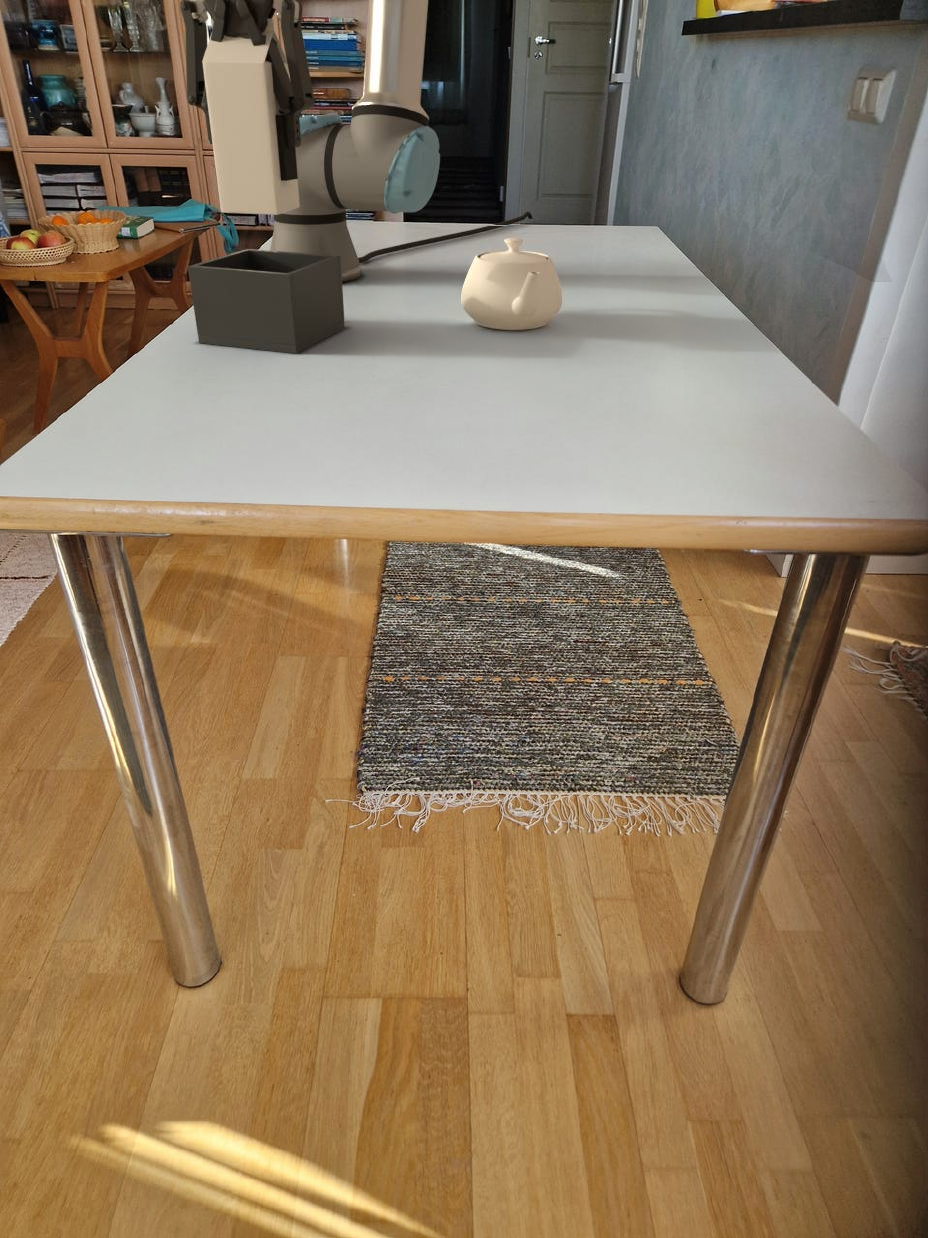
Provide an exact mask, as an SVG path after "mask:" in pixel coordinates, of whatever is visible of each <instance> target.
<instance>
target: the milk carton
mask: <svg viewBox="0 0 928 1238" xmlns="http://www.w3.org/2000/svg"><path fill="white" fill-rule="evenodd" d="M210 18H211V17H210ZM210 21H211V29H212V28H213V23H214V21H213V19H212V18H211V19H210ZM267 22H268V25H267V27H266V29H265V31H264V32H263V33H262V35H266V44H263V45H258V46H254V45H253V44H252V41H251V39H245V38H242V37H236V38H234V37H227V36H225V35H224V38H223V40H222V41H221V42H216V41H212V40H211V34H212V32H211V34H210V37H209V40H208V41H207V49H206V52H205V55H204V58H203V61H202V62H203V70H204V78H205V86H206V94H207V102H208V110H209V118H210V126H211V134H212V142H213V144H212V150H213V158H214V167H215V175H216V182H217V191H218V197H219V206H220V212H221V213H225V214H245V215H266V216H267V215H268V216H269V215H270V216H271V215H272V216H274V215H278V214H282V213H285V212H288V211H291V210H294V209H297V208H299V192H298V180H297V179H294V180H288V181H281V175H280V164H279V152H278V141H277V130H276V118H275V115H281V114H280V113H279V112H278V111H279V110H280V106H279V104H278V101H277V99H276V96H275V93H274V89H273V78H272V67H271V63H270V62H268V61H265V59H266V55H267V52H268V49H269V45H270V42H271V39H272V38H273V39H274V40H275V41H276V42H277V47H278V50H279V52H280V55H281V58H282V60H283V63H284V65H285V68H286V71H287V73H288V76H289V77H290V74H289V69H288V64H287V59H286V54H285V51H284V50H283V47H282V45H281V43H280V41H279V39H278V36H277V34H276V31H275V23H274V18H272V19H267Z"/></svg>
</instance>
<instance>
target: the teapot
mask: <svg viewBox="0 0 928 1238" xmlns="http://www.w3.org/2000/svg"><path fill="white" fill-rule="evenodd" d="M504 243H505V244H506V246H507V248H508V250H507V249H506V250H504V249H503V250H490V251H483V252H480V253H478V254H476V255H475V256H474V259H473V260H472V263H471V265H470V266H469V269H468V272H467V274H466V276H465V279H464V282H463V285H462V288H461V289H462V290H461V294H460V296H461V297H460V302H461V306H462V308H463V310H464V312H465V313H466V314H467V315H468V316H469V317H470V319H472V320H473V322H474V323H475V324H477V325H480V326H481V327H485V328H489V329H494V330H495V329H496V330H502V331H503V330H506V331H522V330H523V331H524V330H532V329H537V328H541V327H544V326H545V325H547V324H548V323H549V322H550V321H551V320H552V319H553V318H555V316H556V315H557V314H558V313H559V312H560V311H561V308H562V305H563V292H562V286H561V282H560V279H559V276H558V272H557V270H556V267H555V264H554V262H553V258H552V257H551V256H549V255H548V254H545V253H541V252H536V251H530V250H519V248H520V246H522V244H523V243H524V239H523V238H520V237H507V238H505V239H504Z"/></svg>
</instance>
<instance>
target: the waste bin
mask: <svg viewBox="0 0 928 1238" xmlns="http://www.w3.org/2000/svg"><path fill="white" fill-rule="evenodd" d="M187 271H188V277H189V278H188V279H189V284H190V286H189V287H190V290H191V291H190V292H191V299H192V305H193V312H194V318H195V325H196V333H197V339H198V343H199V344H205V345H214V346H222V347H231V348H241V349H248V350H249V349H250V350H257V351H259V350H261V351H268V352H277V353H286V354H295V355H296V354H299V353H301V352H303V351H304V350H306V349H308V348H310V347H312V346H314V345H315V344H318V343H320V342H321V341H323V340H325V339H327V338H329V337H331V336H332V335H334V334H336V333H338V332H341V331H342V330H344V329H346V325H345V324H346V322H345V308H344V305H345V304H344V291H343V290H344V289H343V288H344V287H343V282H342V272H341V256H335V255H322V254H309V253H295V252H282V251H270V249H269V250H266V249H254V248H246V249H242V250H238V251H235V252H232V253H228V254H224V255H222V256H218V257H214V258H211V259H208V260H205V261H202V262H198V263H194V264H191V265H188V266H187Z"/></svg>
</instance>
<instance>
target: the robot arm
mask: <svg viewBox="0 0 928 1238" xmlns="http://www.w3.org/2000/svg"><path fill="white" fill-rule="evenodd" d="M428 7H429V0H368V10H367V27H366V41H365V44H366V45H365V56H364V57H365V59H364V76H363V93H362V97H361V98H360V99H359V100H358V101H357V102H356V103H354V104H353V105H352V107H351V120H350V124H343V120H342V118H341V115H340V114H338V113H327V114H319V115H310V116H302V117H300V116H301V114H302V112H303V111H306V110H308V109H312V108H313V107H314V106H315V96H314V95H315V94H314V90H313V83H312V79H311V74H310V68H309V63H308V57H307V52H306V46H305V41H304V40H305V39H304V35H303V30H302V29H303V28H302V19H303V10H304V9H303V4H302V2H301V1H300V0H181V1H180V2H179V8H180V13H181V16H182V19H183V23H184V30H185V31H184V32H185V34H184V35H185V72H186V73H185V74H186V78H185V79H186V100H187V103H188V105H190V106H194V107H197V108H199V109H201V110H202V112H203V114H204V117H205V125H206V132H207V140H208V142H209V145H213V142H212V134H211V126H210V118H209V110H208V102H207V94H206V86H205V78H204V70H203V62H202V61H203V58H204V55H205V52H206V49H207V45H208V27H207V21H208V19H209V16H210V18H212V19H213V21H214V23H213V28H212V27H211V33H212V34H210V36H211V40H212V41H216V42H221V41H222V40H223V38H224V35H225V36H227V37H234V38H236V37H242V38H245V39H251V41H252V44H253V45H254V46H258V45H263V44H266V35H262V33H263V32H264V31H265V29H266V27H267V25H268V22H267V19H274V16H275V13H276V17H277V20H278V21H279V22H280V32H281V37H282V42H283V43H282V44H283V47H284V54H285V57H286V59H287V64H288V69H289V76H288V73H287V71H286V68H285V65H284V63H283V60H282V58H281V55H280V52H279V50H278V47H277V42H276V41H275V40H274V39H273V38H272V39H271V42H270V45H269V49H268V52H267V55H266V59H265V61H268V62H270V63H271V67H272V78H273V89H274V93H275V96H276V99H277V101H278V104H279V106H280V110H279V111H278V112H279V113H280V114H281V115H275V118H276V130H277V141H278V152H279V164H280V175H281V181H288V180H294V179H297V180H298V192H299V208H297V209H294V210H291V211H288V212H285V213H282V214H278V215H273V223H274V227H273V232H272V237H271V243H270V247H269V251H282V252H295V253H309V254H322V255H335V256H341V272H342V283H344V282H349V281H353V280H356V279H358V278H359V277H360V276H361V264H364V263H366V262H368V261H370V260H371V259H373V258H375V257H379V256H383V255H386V254H390V253H395V252H399V251H404V250H408V249H413V248H417V247H420V246H426V245H432V244H435V243H440V242H445V241H449V240H454V239H459V238H463V237H469V236H473V235H477V234H481V233H486V232H489V231H493V230H496V229H500V228H503V227H504V226H490V225H486V226H482V227H477V228H473V229H469V230H465V231H464V230H463V231H459V232H455V233H449V234H443V235H440V236H439V235H438V236H435V237H430V238H426V239H425V238H424V239H420V240H416V241H411V242H407V243H406V242H405V243H402V244H397V245H393V246H389V247H383V248H380V249H377V250H372V251H371V252H368V253H366V254H365V255H363V256H360V257H358V254H357V251H356V248H355V245H354V243H353V239H352V236H351V235H350V231H349V228H348V223H347V210H353V211H368V212H369V211H370V212H371V211H372V212H388V213H390V214H394V215H395V214H398V213H416V212H418V211H420V210H422V209H423V208H424V207H426V205H427V204H428V202H429V201H430V199H431V197H432V195H433V193H434V190H435V189H436V185H437V181H438V177H439V176H438V175H439V170H440V165H441V163H440V162H441V154H440V152H439V151H440V140H439V137H438V135H437V132H436V131H435V130H434V129H433V128H431V127H430V124H429V123H430V117H429V115H428V114H427V112H426V111H425V109H424V108H423V107H422V105H421V98H422V86H423V85H422V84H423V73H424V71H423V70H424V60H425V47H426V34H427V23H428V22H427V21H428ZM208 15H209V16H208ZM532 215H533V214H532V213H531V212H530V211H525V212H524V213H523V214H521V215H520V216H518V217H514V218H511V219H508V220H505V221H500V222H498V223H493V224H492V225H507V226H510V225H512V224H516V223H518V222H521V221H524V220H525V219H526V218H528V220H533V218H534V217H533V216H532Z"/></svg>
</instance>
